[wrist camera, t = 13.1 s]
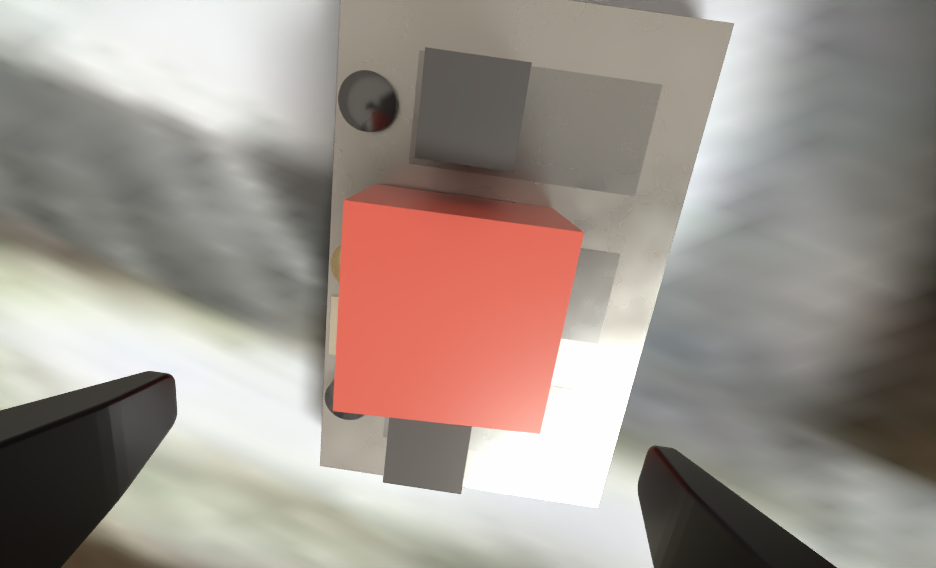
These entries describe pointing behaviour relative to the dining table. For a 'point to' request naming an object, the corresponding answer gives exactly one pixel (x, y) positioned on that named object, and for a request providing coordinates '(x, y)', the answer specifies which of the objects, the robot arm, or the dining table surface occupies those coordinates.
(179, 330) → the dining table surface
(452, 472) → the block
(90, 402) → the robot arm
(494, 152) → the block
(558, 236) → the cap
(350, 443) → the panel
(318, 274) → the dining table surface
